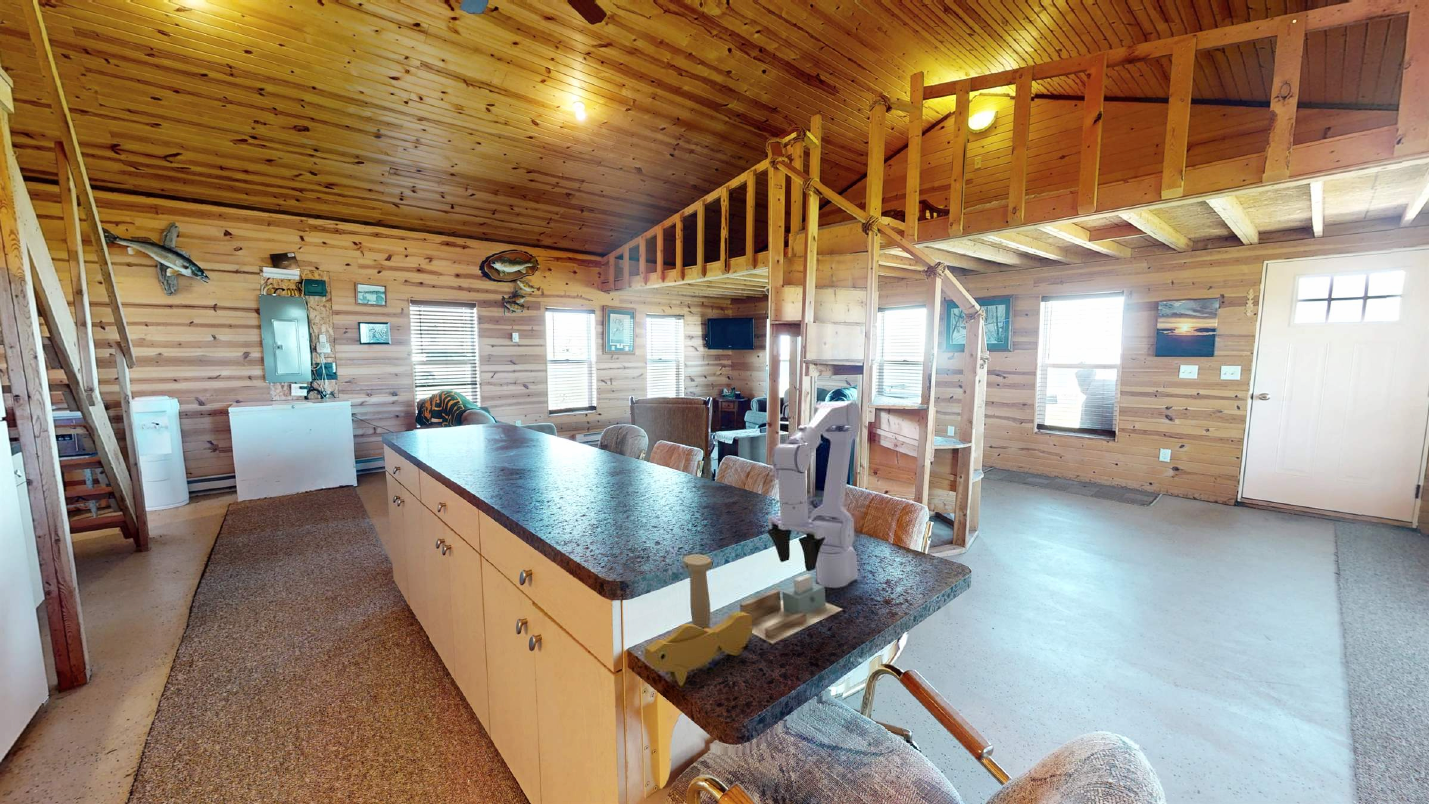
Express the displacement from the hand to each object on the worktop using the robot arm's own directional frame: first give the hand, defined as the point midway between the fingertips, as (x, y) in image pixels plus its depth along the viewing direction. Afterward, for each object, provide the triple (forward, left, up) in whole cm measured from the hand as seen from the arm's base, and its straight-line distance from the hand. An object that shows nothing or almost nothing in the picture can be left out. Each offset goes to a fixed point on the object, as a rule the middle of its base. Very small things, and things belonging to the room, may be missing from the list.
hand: (797, 565), depth 109 cm
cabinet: (-1, +1, -9) cm, 9 cm away
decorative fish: (+27, +3, -11) cm, 29 cm away
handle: (+20, -7, -11) cm, 24 cm away
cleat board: (+4, 0, -10) cm, 11 cm away
